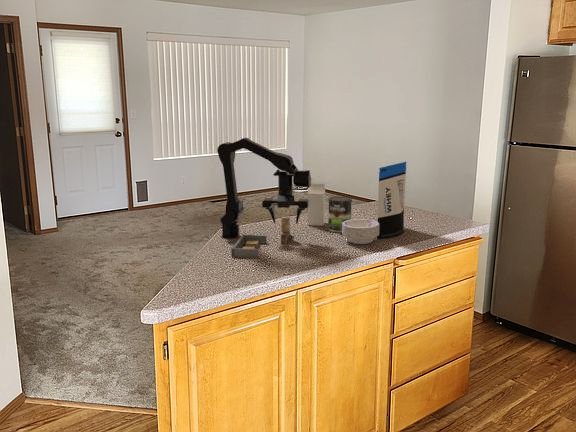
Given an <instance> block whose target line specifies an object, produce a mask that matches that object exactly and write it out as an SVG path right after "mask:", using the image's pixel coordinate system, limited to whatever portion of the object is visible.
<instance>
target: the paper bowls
mask: <svg viewBox="0 0 576 432" xmlns="http://www.w3.org/2000/svg"><path fill="white" fill-rule="evenodd" d="M341 235H342V236H344V237H345V238H346V239H347V241H348V242H349V243H352V244H355V245H367V244H371V243H372V242H373V241H374V240H375V238H377V236H378V235H379V223H378V220H373V219H367V218H366V219H365V218H355V219H354V218H353V219H352V218H351V220H347V221H344V222H343V223H342V232H341Z"/></svg>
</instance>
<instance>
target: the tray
mask: <svg viewBox="0 0 576 432" xmlns="http://www.w3.org/2000/svg"><path fill="white" fill-rule="evenodd" d="M267 237H268V236H267V235H266V234H264V235H261V234H242V235H241V236H240V237H239V238H238V240H237V241H236V242H235V244H234V245H233V246H232V247H231V249H230V250H231V257H232V258H234V257H239V258H259V249H258V248H255V249H244V248H243V245H244V244H246V242H247V241H259V244H267V243H268V241H267V240H268V239H267Z"/></svg>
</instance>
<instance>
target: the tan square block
mask: <svg viewBox="0 0 576 432" xmlns="http://www.w3.org/2000/svg"><path fill="white" fill-rule="evenodd" d="M259 246H260V243H259V241H247V242H245V247H255V249H258V247H259Z"/></svg>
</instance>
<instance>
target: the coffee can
mask: <svg viewBox="0 0 576 432" xmlns="http://www.w3.org/2000/svg"><path fill="white" fill-rule="evenodd" d="M352 200H353V199H352V197H349V196H348V197H347V196H340V195H339V196H330V197H329V198H328V218H327V219H328V220H327V221H328V222H327V223H328V224H327V227H328V228H327V229H328V231H330V232H331V233H332V232H334V233H342V223H343V222H344V221H347V220H352Z"/></svg>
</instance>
